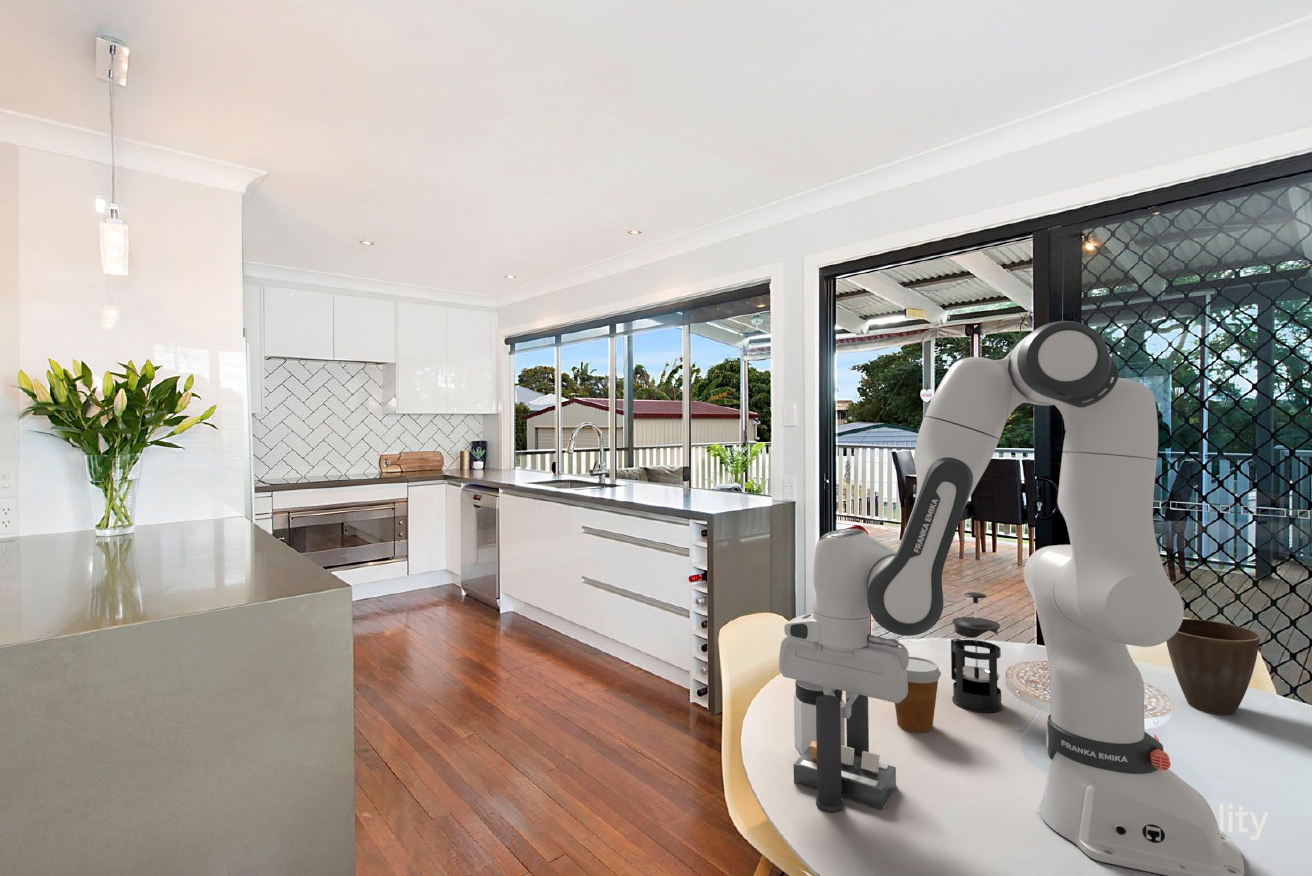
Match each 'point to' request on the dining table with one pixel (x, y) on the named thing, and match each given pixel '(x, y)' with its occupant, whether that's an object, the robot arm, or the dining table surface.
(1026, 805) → the dining table surface
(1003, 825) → the dining table surface
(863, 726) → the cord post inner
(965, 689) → the french press
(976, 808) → the dining table surface
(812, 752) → the tripped paddle
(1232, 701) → the plant pot
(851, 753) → the white block
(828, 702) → the cord post outer
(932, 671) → the disposable coffee cup
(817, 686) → the jar
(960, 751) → the dining table surface
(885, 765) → the breaker panel
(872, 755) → the white block
